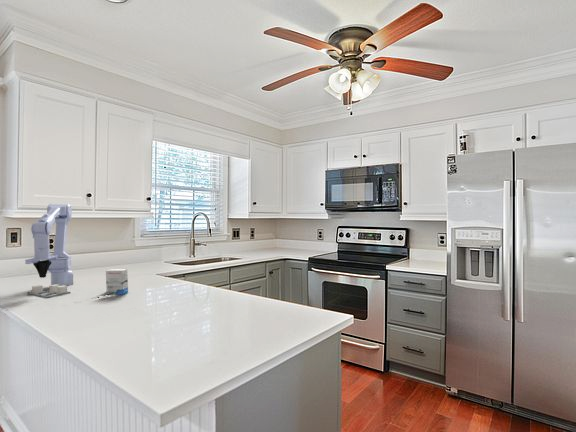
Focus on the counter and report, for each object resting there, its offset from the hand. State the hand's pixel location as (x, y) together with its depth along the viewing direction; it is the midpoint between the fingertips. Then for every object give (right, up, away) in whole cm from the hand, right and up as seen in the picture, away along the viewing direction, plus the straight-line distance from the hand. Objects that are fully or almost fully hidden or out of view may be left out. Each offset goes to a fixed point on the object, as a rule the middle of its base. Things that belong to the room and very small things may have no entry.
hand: (42, 277), depth 160 cm
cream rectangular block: (+2, -8, +6) cm, 10 cm away
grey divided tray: (+1, -10, +3) cm, 10 cm away
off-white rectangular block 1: (-6, -8, +5) cm, 11 cm away
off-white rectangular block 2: (+7, -8, +3) cm, 11 cm away
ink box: (+31, -10, +8) cm, 33 cm away
